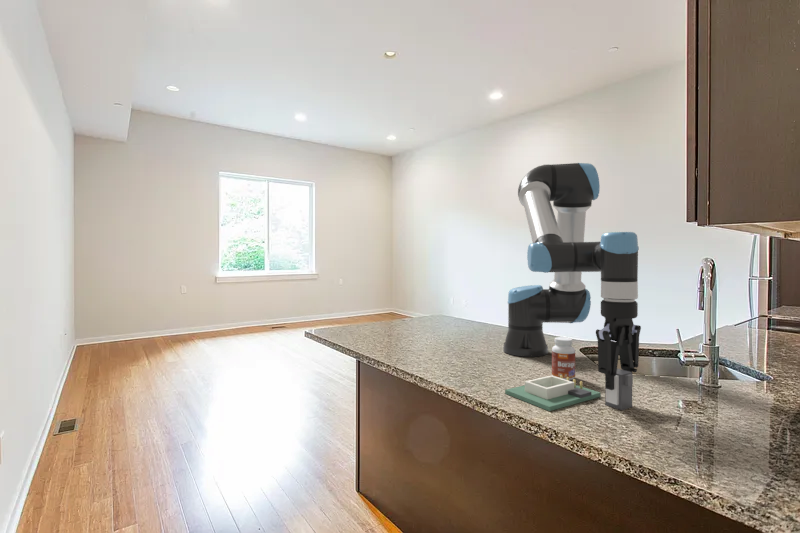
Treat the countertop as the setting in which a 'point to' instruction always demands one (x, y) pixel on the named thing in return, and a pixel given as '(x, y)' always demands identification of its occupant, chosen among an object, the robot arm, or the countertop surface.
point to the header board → (552, 392)
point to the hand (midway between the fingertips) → (618, 400)
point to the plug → (623, 390)
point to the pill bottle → (563, 358)
